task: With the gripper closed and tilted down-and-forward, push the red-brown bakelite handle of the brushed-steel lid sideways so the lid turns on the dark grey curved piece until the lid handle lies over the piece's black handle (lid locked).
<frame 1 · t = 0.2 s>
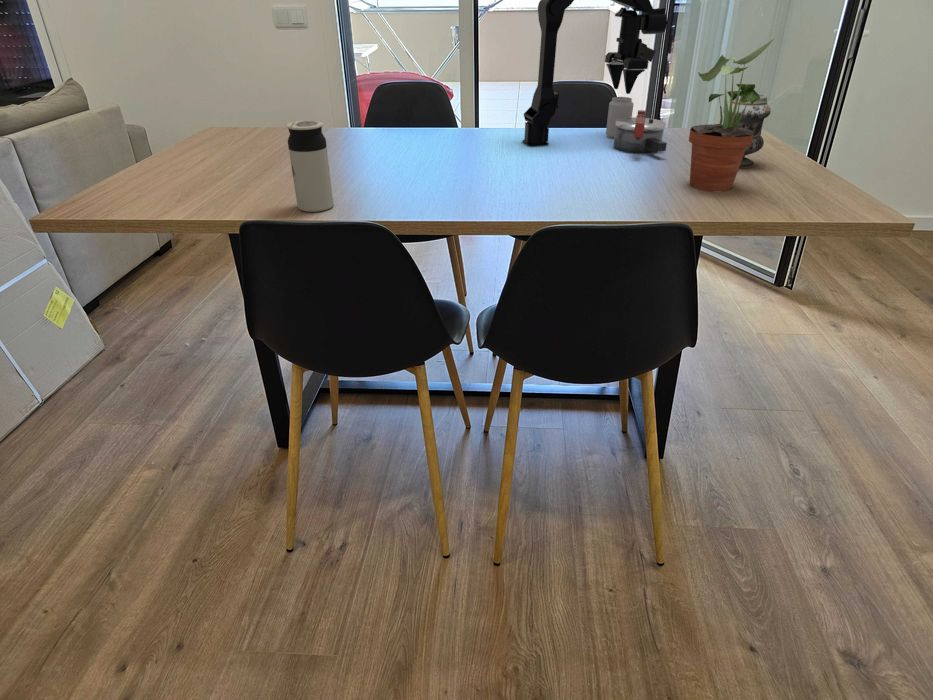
hand: (621, 91, 185), 14 cm above the table, tool pointing down, fingers open, 9 cm apart
can: (617, 137, 195), on the table
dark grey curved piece: (636, 148, 183), on the table
potted plant: (707, 185, 150), on the table
travel mug: (316, 207, 136), on the table
apothecary jar: (734, 164, 168), on the table
lid: (640, 121, 176), point 8 cm above the table, hinge at -30.0°
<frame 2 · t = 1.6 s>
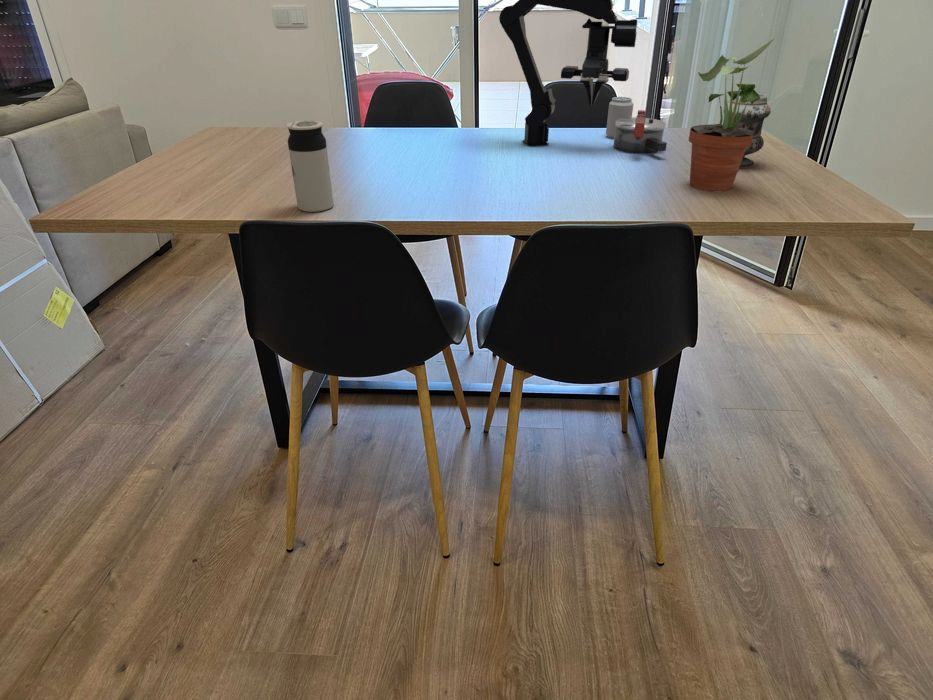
hand: (591, 105, 177), 12 cm above the table, tool pointing down, fingers closed
nothing on the table moved.
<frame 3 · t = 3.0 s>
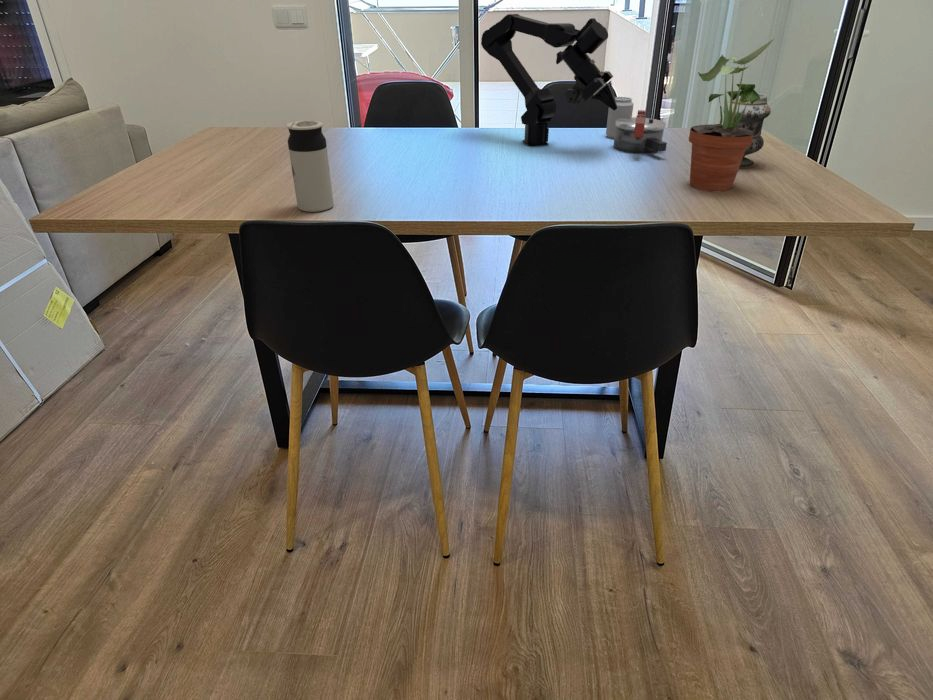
hand: (615, 109, 170), 12 cm above the table, tool tilted 45°, fingers closed
nothing on the table moved.
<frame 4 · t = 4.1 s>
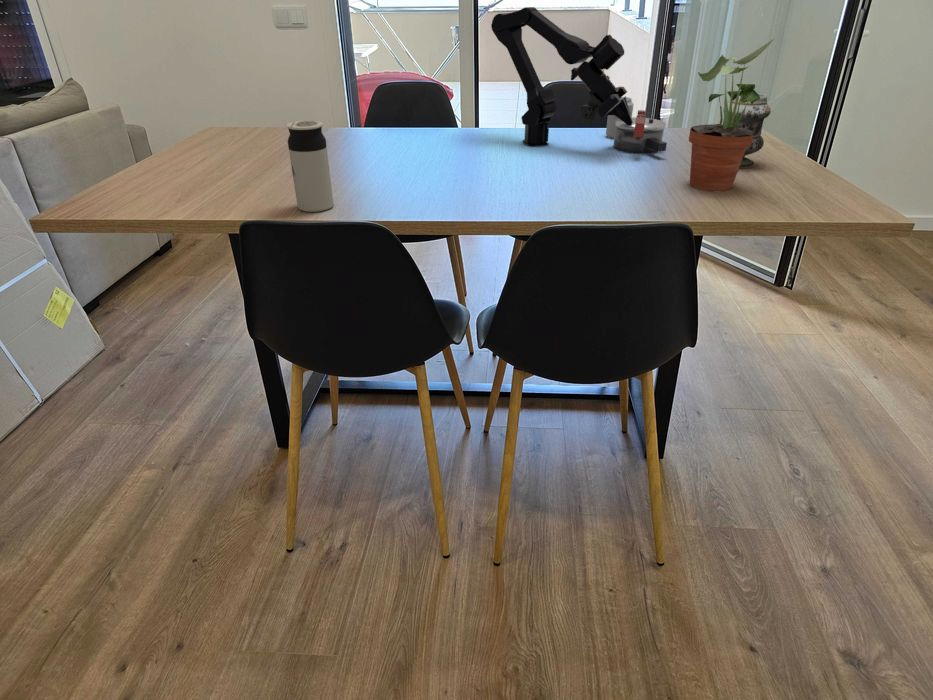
hand: (631, 124, 170), 9 cm above the table, tool tilted 45°, fingers closed
nothing on the table moved.
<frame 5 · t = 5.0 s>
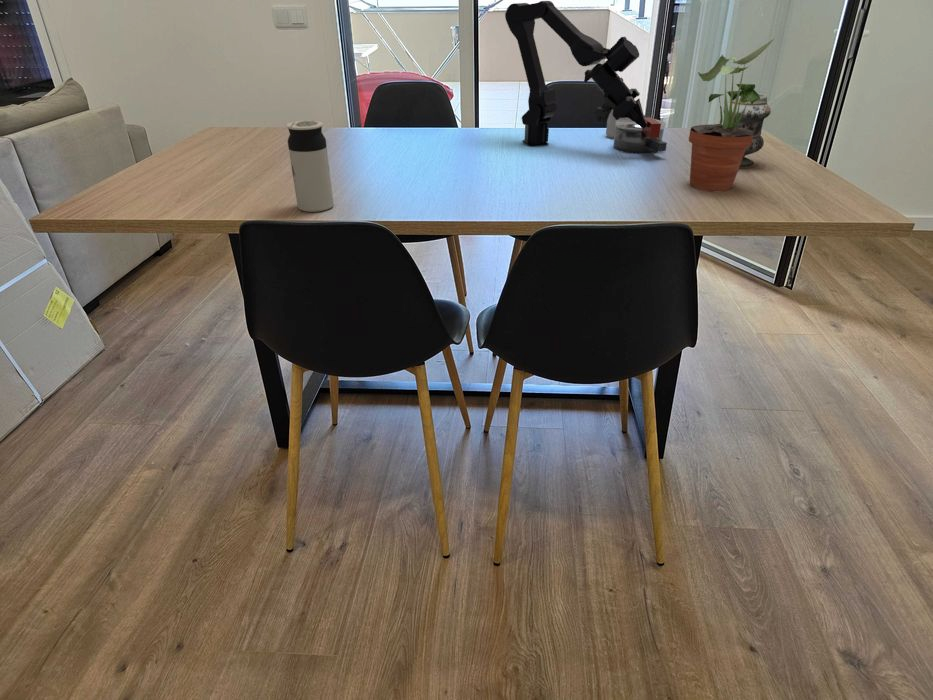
hand: (645, 127, 169), 8 cm above the table, tool tilted 45°, fingers closed
lid: (643, 121, 176), point 8 cm above the table, hinge at -13.3°, touching gripper
everything else where it was.
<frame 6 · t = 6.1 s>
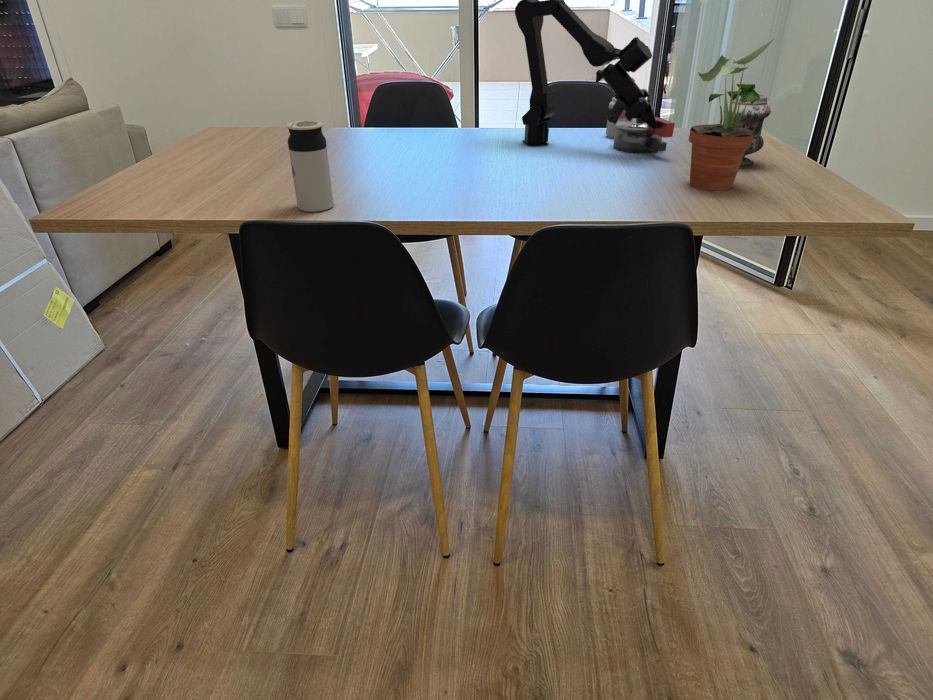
hand: (655, 127, 169), 8 cm above the table, tool tilted 45°, fingers closed
lid: (645, 121, 176), point 8 cm above the table, hinge at 2.7°, touching gripper
everything else where it was.
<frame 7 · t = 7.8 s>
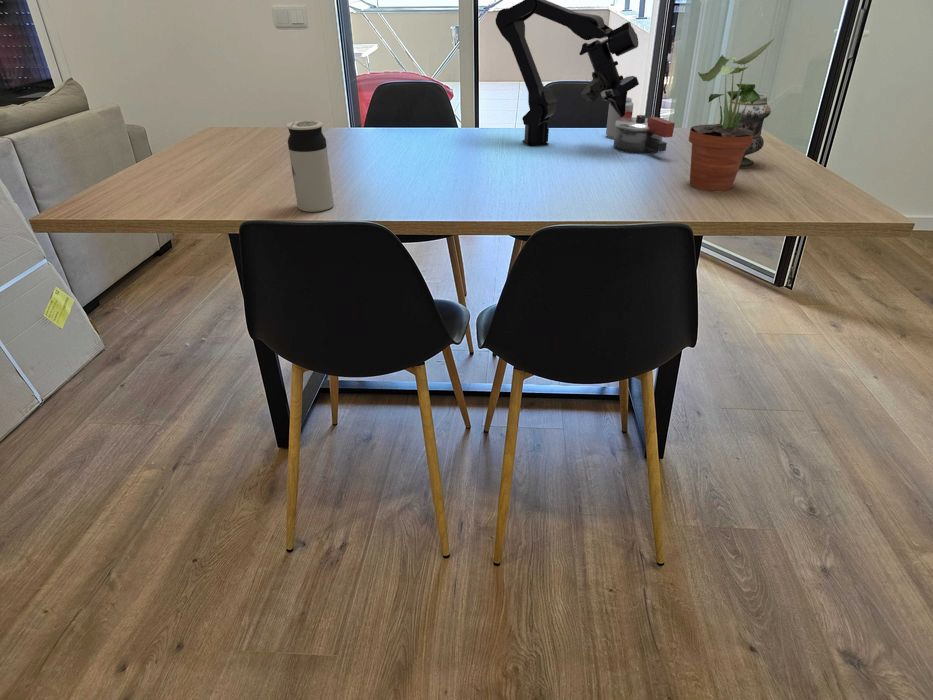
hand: (622, 116, 174), 10 cm above the table, tool tilted 30°, fingers closed
lid: (645, 121, 176), point 8 cm above the table, hinge at 2.7°
everything else where it was.
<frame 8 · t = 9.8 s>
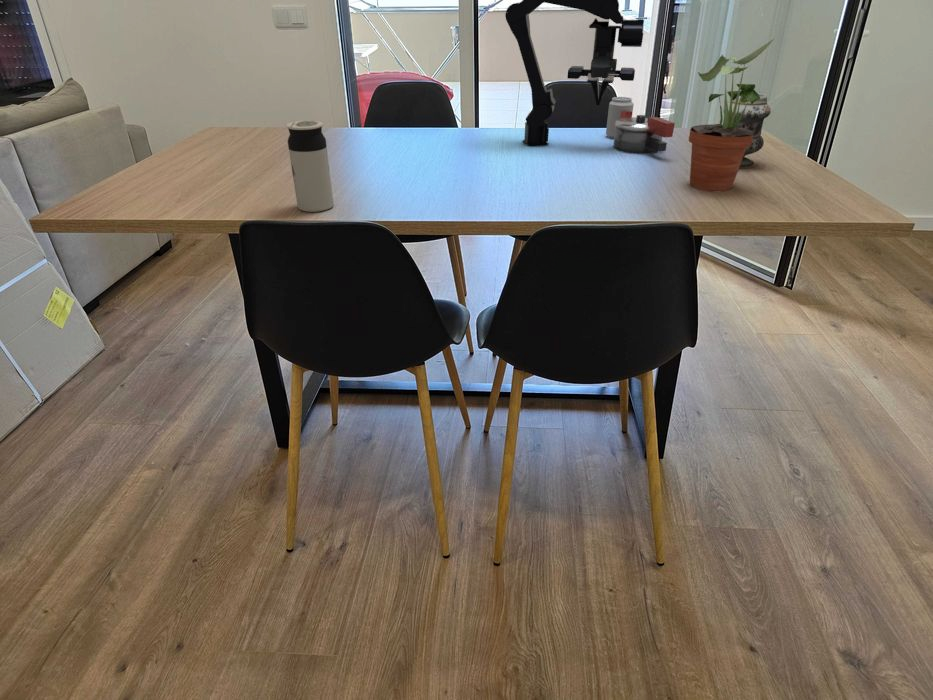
hand: (597, 105, 178), 12 cm above the table, tool pointing down, fingers closed
nothing on the table moved.
at the end: lid at +3° (first picture: -30°); the gripper is holding nothing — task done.
